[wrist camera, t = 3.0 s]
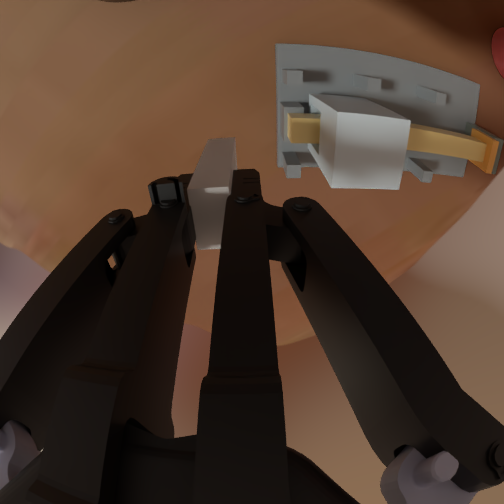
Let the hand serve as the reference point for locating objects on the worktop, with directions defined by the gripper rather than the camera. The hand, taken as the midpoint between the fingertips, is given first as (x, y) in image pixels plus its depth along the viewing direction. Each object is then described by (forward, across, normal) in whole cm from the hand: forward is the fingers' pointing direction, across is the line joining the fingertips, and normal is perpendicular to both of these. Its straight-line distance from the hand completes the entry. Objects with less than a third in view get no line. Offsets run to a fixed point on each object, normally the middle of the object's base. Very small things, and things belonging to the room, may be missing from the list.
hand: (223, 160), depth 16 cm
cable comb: (+11, +16, +1) cm, 19 cm away
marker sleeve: (+9, +9, 0) cm, 13 cm away
